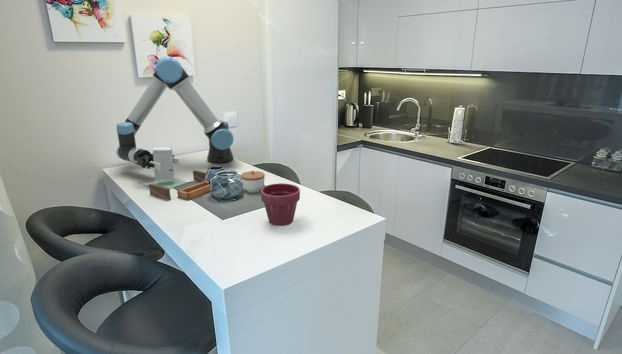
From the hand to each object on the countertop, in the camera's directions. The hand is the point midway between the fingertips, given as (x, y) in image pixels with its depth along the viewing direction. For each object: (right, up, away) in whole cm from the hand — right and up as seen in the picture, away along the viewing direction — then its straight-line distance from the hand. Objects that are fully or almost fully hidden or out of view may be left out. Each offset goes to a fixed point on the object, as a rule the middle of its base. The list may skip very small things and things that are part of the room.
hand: (169, 163), depth 162 cm
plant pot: (+55, -23, -31) cm, 67 cm away
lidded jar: (+39, -12, 0) cm, 41 cm away
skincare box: (-4, -7, +5) cm, 9 cm away
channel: (+6, -12, 0) cm, 13 cm away
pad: (-4, -10, +6) cm, 12 cm away
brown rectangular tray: (+15, -13, -5) cm, 21 cm away
